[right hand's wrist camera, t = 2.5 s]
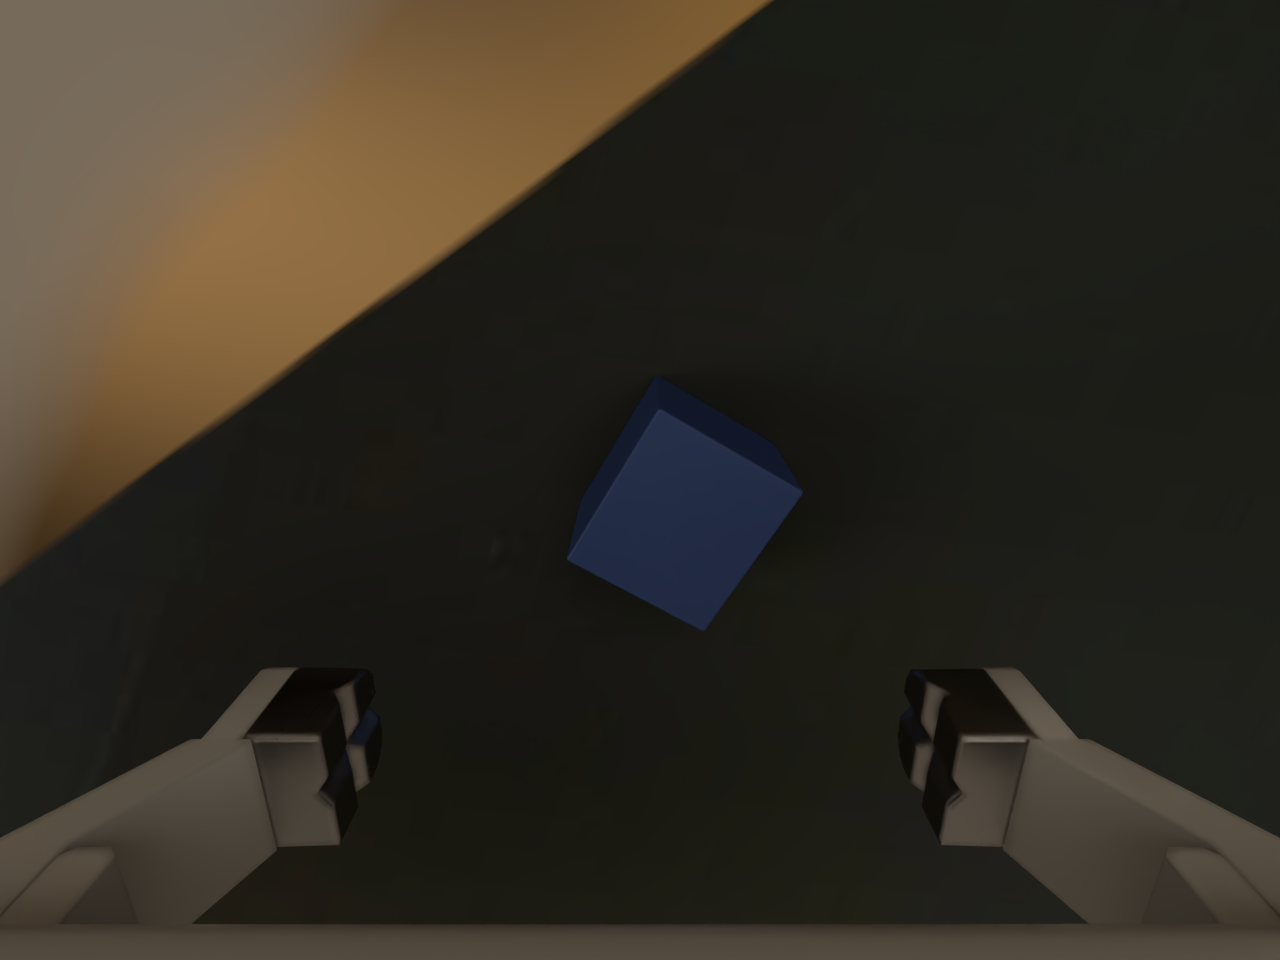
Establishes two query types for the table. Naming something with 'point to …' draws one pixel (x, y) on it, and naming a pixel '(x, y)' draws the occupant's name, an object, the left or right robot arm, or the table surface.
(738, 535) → the block
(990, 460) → the table surface
